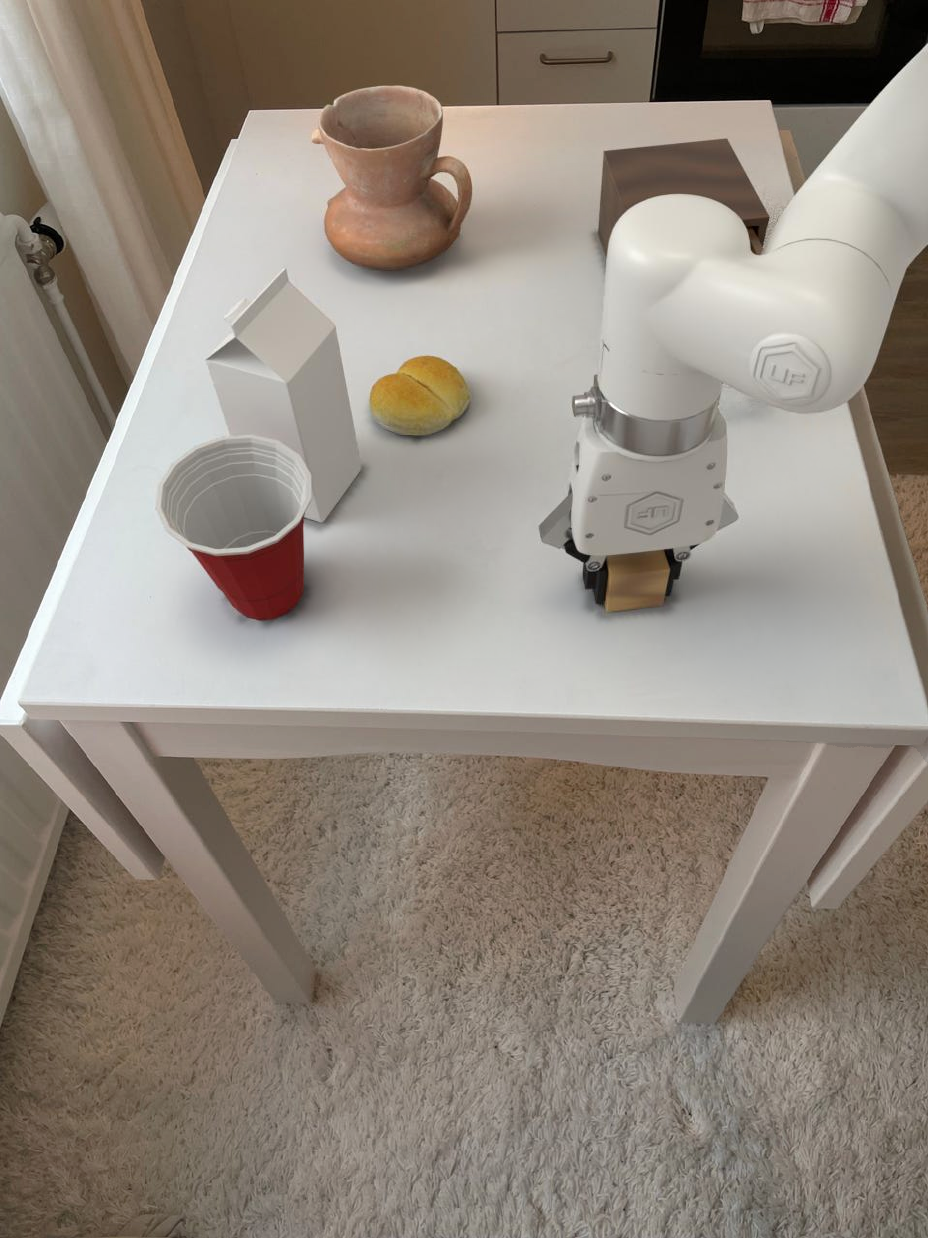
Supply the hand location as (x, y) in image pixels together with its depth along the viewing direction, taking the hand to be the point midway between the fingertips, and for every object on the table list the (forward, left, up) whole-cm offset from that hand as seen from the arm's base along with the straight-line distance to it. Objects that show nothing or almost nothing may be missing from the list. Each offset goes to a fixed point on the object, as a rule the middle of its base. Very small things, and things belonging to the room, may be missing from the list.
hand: (629, 584), depth 74 cm
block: (0, 0, 0) cm, 0 cm away
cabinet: (-2, -43, 0) cm, 43 cm away
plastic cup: (+28, +4, -1) cm, 28 cm away
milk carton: (+28, -8, -1) cm, 29 cm away
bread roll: (+20, -19, -1) cm, 28 cm away
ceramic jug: (+27, -44, -1) cm, 52 cm away
